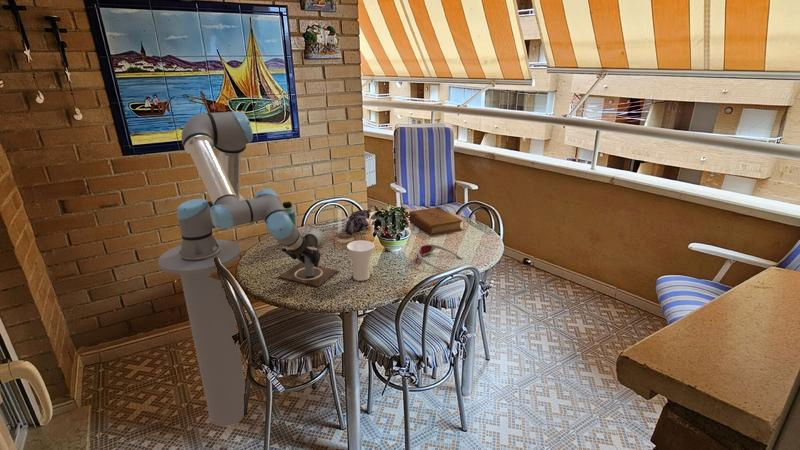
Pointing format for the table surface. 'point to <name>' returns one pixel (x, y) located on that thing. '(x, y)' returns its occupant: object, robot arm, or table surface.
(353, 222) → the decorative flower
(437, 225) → the diary
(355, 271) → the cup
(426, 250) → the sunglasses
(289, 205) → the beverage bottle
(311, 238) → the ceramic mug
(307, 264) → the cylinder
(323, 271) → the drawing board
